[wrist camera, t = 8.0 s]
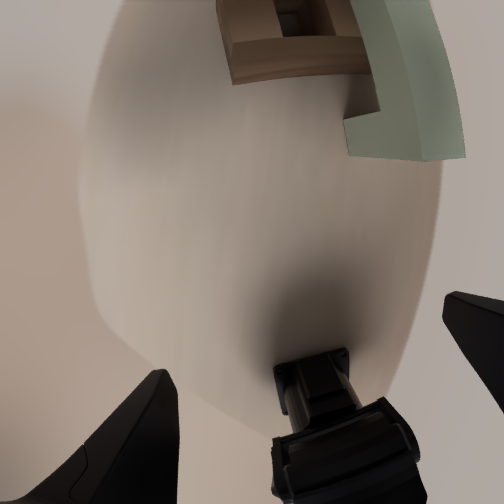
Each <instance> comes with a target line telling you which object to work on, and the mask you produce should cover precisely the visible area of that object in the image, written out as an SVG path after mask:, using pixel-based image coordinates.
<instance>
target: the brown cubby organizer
mask: <svg viewBox="0 0 504 504" xmlns="http://www.w3.org/2000/svg"><path fill="white" fill-rule="evenodd" d="M216 12H217V16H218V21H219V25H220V29H221V34H222V38H223V43H224V47H225V52H226V56H227V61H228V66H229V70H230V75H231V79H232V84H233V85H238V84H244V83H250V82H257V81H264V80H271V79H280V78H289V77H300V76H313V75H332V74H372V71H371V67H370V63H369V59H368V55H367V52H366V48H365V45H364V41H363V38H362V35H361V32H360V29H359V26H358V23H357V20H356V17H355V14H354V11H353V8H352V5H351V3H350V0H216ZM295 13H296V16H297V19H298V23H299V26H300V30H301V33H302V36H296V37H283V35H282V31H281V27H280V24H279V20H278V17H277V14H295Z"/></svg>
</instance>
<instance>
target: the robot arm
mask: <svg viewBox="0 0 504 504" xmlns="http://www.w3.org/2000/svg"><path fill="white" fill-rule="evenodd" d="M442 318H443V322H444V323H445V325H446V327H447V328H448V330H449V331H450V333H451V335H452V336H453V338H454V339H455V341H456V343H457V344H458V346H459V348H460V349H461V351H462V352H463V354H464V356H465V357H466V359H467V360H468V361H469V363H470V364H471V365H472V367H473V368H474V370H475V371H476V372H477V374H478V375H479V377H480V378H481V380H482V381H483V382H484V384H485V385H486V387H487V388H488V390H489V391H490V393H491V394H492V396H493V397H494V399H495V401H496V402H497V404H498V405H499V407H500V408H501V410H502V411H503V413H504V301H502V300H497V299H492V298H488V297H483V296H477V295H473V294H468V293H463V292H459V291H454V292H451V293H449V294H447V295H446V296H445V300H444V307H443V314H442ZM343 353H344V354H343ZM342 354H343V355H342ZM279 370H281V371H280V372H278V371H279ZM273 373H274V377H275V382H276V386H277V391H278V395H279V400H280V405H281V409H282V413H283V415H289V419H290V422H291V426H292V430H293V434H290V435H287V436H283V437H280V436H279V437H276V438H273V439H272V440H273V447H272V448H271V449H272V451H271V456H272V464H273V479H272V487H271V490H272V494H273V495H274V496H276V497H278V498H280V499H281V501H282V502H283V503H284V504H426V502H427V493H426V490H425V488H424V486H423V483H422V481H421V478H420V474H419V471H418V468H417V464H416V463H417V462H419V460H420V450H419V446H418V442H417V440H416V437H415V435H414V433H413V431H412V429H411V428H410V426H409V425H408V424H407V422H406V421H405V420H404V419H403V417H402V416H401V415H400V414H399V413H398V412H397V411H396V410H395V409H394V407H393V406H392V405H391V404H390V403H389V402H388V401H387V399H386V398H385V397H384V396H383V397H381V398H379V399H377V401H375V402H373V403H371V404H369V405H366V406H364V407H363V406H362V404H361V403H360V401H359V399H358V397H357V395H356V393H355V391H354V389H353V387H352V386H351V384H350V382H349V351H348V350H347V349H346V348H341V349H337V350H334V351H331V352H327V353H324V354H320V355H316V356H313V357H309V358H305V359H301V360H298V361H294V362H290V363H285V364H281V365H277V366H275V367H274V369H273ZM179 445H180V431H179V413H178V393H177V389H176V387H175V385H174V383H173V381H172V379H171V377H170V375H169V373H168V371H167V370H166V369H158V370H153V371H151V372H150V373H149V375H148V376H147V377H146V378H145V379H144V380H143V381H142V382H141V383H140V384H139V385H138V386H137V387H136V388H135V390H133V392H132V393H131V394H130V395H129V396H128V397H127V398H126V399H125V400H124V401H123V402H122V403H121V404H120V405H119V406H118V408H117V409H116V410H115V411H114V412H113V413H112V414H111V415H110V416H109V417H108V418H107V419H106V420H105V421H104V422H103V423H102V424H101V425H100V427H99V428H98V429H97V430H96V431H95V432H94V433H93V434H92V435H91V436H90V437H89V438H88V439H87V440H86V441H85V442H84V445H81V446H80V447H79V448H78V449H77V450H76V451H75V453H74V454H73V455H71V457H69V459H67V460H66V461H65V462H64V463H63V464H62V465H61V466H60V467H59V468H58V469H57V470H55V471H54V472H53V473H52V474H51V475H50V476H49V477H47V478H46V479H45V480H44V481H43V482H41V483H40V484H39V485H37V486H36V487H35V488H34V489H33V490H31V491H30V492H29V493H28V494H26V495H25V496H23V497H21V498H19V499H17V500H13V501H6V502H0V504H177V484H178V462H179Z"/></svg>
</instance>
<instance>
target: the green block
mask: <svg viewBox="0 0 504 504" xmlns="http://www.w3.org/2000/svg"><path fill="white" fill-rule="evenodd" d="M350 3H351V5H352V8H353V11H354V14H355V17H356V20H357V23H358V26H359V29H360V32H361V35H362V38H363V41H364V45H365V48H366V52H367V55H368V59H369V63H370V67H371V71H372V75H373V79H374V83H375V87H376V92H377V96H378V101H379V106H380V111H379V112H374V113H370V114H365V115H361V116H357V117H352V118H348V119H344V120H343V122H344V127H345V133H346V138H347V144H348V150H349V156H359V157H375V158H389V159H401V160H411V161H421V162H425V161H435V160H445V159H455V158H456V159H457V158H466V155H465V145H464V136H463V129H462V122H461V116H460V110H459V104H458V99H457V95H456V89H455V85H454V80H453V76H452V72H451V69H450V64H449V61H448V57H447V54H446V50H445V47H444V44H443V41H442V38H441V35H440V32H439V29H438V26H437V23H436V20H435V18H434V15H433V13H432V10H431V8H430V5H429V3H428V0H350Z"/></svg>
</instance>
